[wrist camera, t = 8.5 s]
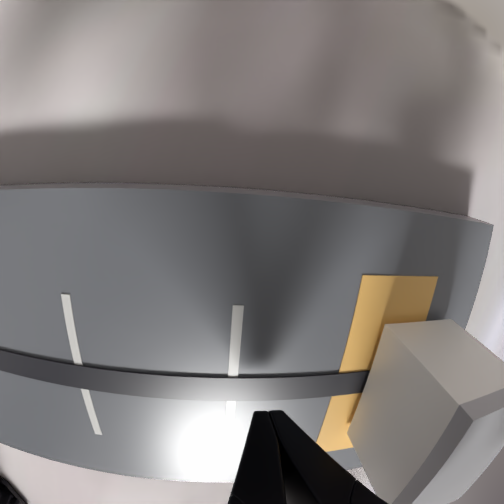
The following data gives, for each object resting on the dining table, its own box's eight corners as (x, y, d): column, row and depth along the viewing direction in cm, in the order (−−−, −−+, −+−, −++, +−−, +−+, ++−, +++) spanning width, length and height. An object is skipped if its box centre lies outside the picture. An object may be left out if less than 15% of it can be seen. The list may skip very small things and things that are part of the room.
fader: (343, 434, 11) (387, 528, 6) (382, 321, 9) (473, 420, 5) (409, 421, 11) (460, 497, 7) (453, 316, 10) (540, 388, 5)
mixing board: (-10, 417, 11) (-21, 435, 9) (-70, 191, 7) (-95, 197, 6) (391, 437, 14) (403, 457, 12) (468, 216, 10) (495, 225, 9)
